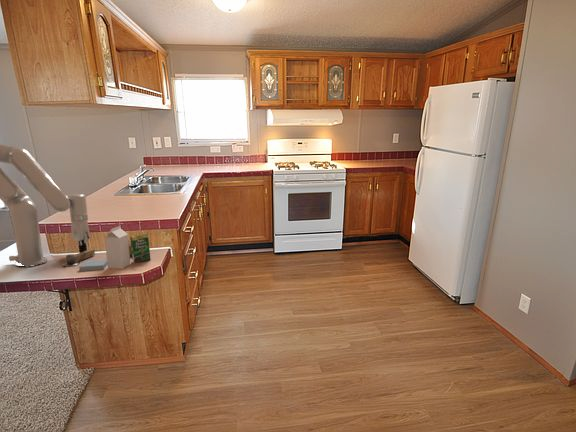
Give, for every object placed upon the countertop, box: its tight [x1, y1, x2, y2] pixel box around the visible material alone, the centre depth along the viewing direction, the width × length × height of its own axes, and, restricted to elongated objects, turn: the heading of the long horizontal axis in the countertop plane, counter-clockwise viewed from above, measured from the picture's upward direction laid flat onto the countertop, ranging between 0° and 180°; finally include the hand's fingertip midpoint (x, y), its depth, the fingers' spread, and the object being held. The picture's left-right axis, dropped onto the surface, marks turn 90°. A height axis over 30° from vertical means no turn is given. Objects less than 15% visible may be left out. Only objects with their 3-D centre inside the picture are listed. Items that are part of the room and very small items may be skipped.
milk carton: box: [104, 225, 131, 270], centre depth 159 cm, size 7×7×19 cm
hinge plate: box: [62, 261, 81, 268], centre depth 163 cm, size 7×7×1 cm
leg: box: [65, 248, 96, 265], centre depth 168 cm, size 16×3×4 cm, turn 169°
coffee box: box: [130, 233, 151, 263], centre depth 167 cm, size 8×3×13 cm, turn 127°
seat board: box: [78, 258, 108, 272], centre depth 160 cm, size 10×9×2 cm
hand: (83, 252), depth 178 cm, fingers closed
